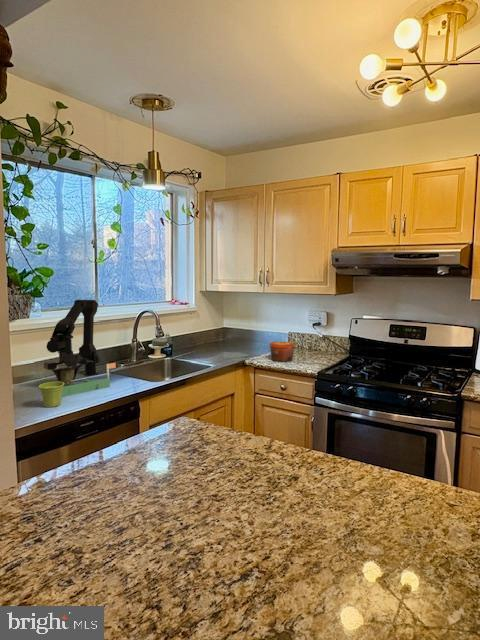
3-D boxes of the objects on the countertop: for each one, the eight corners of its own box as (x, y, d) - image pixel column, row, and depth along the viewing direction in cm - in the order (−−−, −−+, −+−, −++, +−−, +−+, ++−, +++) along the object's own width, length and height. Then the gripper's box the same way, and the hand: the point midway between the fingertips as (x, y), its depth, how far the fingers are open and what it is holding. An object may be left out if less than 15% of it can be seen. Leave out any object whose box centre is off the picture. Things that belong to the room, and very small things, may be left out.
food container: (280, 356, 270) (280, 340, 269) (300, 360, 259) (300, 343, 257) (263, 360, 259) (264, 343, 258) (283, 364, 248) (284, 346, 246)
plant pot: (60, 408, 165) (59, 387, 164) (36, 409, 164) (34, 388, 163) (68, 401, 174) (67, 381, 173) (45, 402, 174) (44, 381, 173)
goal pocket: (43, 392, 187) (41, 368, 186) (104, 380, 208) (103, 359, 207) (53, 398, 179) (52, 373, 177) (116, 385, 199) (115, 362, 198)
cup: (55, 385, 199) (54, 369, 198) (67, 382, 205) (67, 366, 204) (65, 387, 195) (65, 371, 194) (78, 384, 202) (77, 367, 201)
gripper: (51, 353, 186) (53, 387, 188) (91, 348, 199) (92, 380, 201) (42, 350, 194) (44, 383, 196) (81, 345, 207) (82, 376, 209)
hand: (66, 380), depth 200 cm, fingers closed on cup, 6 cm apart
